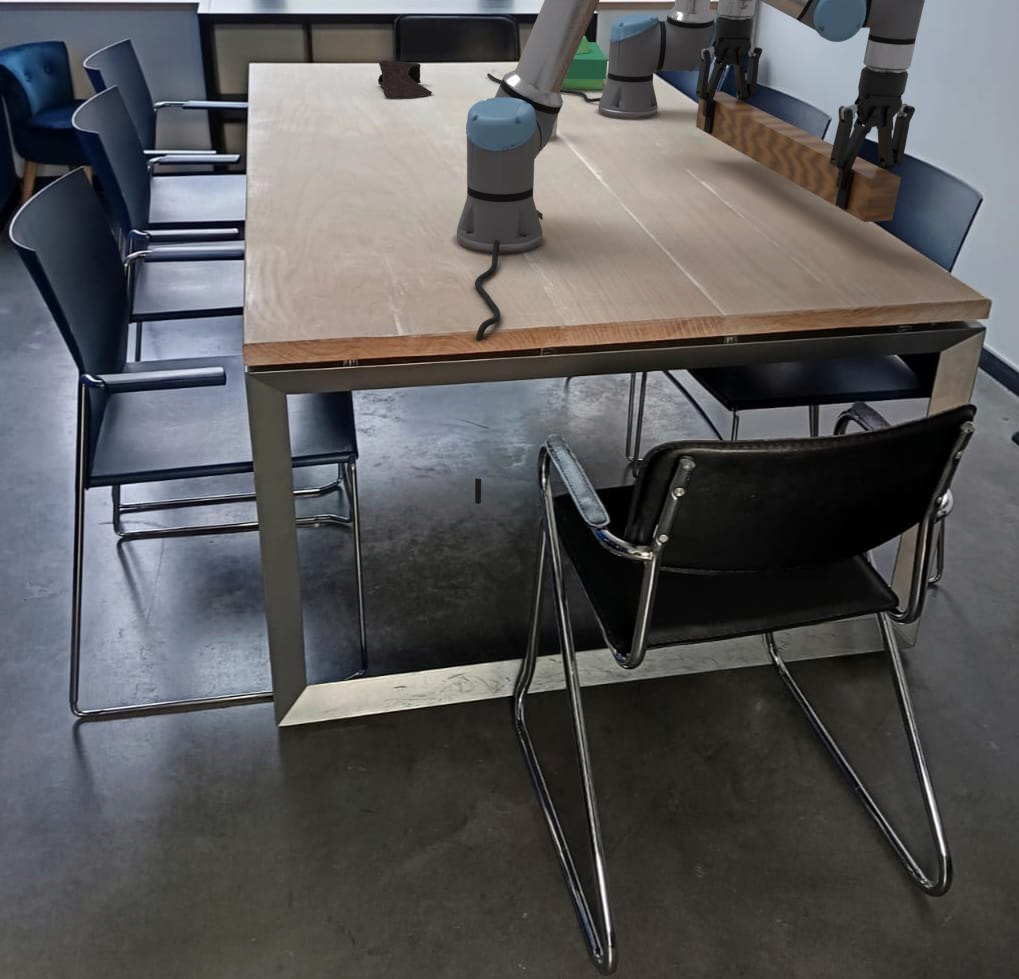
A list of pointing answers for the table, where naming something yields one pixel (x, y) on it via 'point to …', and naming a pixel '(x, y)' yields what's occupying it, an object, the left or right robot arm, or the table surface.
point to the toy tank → (586, 68)
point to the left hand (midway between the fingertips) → (857, 205)
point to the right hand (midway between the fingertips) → (721, 131)
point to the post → (801, 157)
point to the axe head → (401, 79)
